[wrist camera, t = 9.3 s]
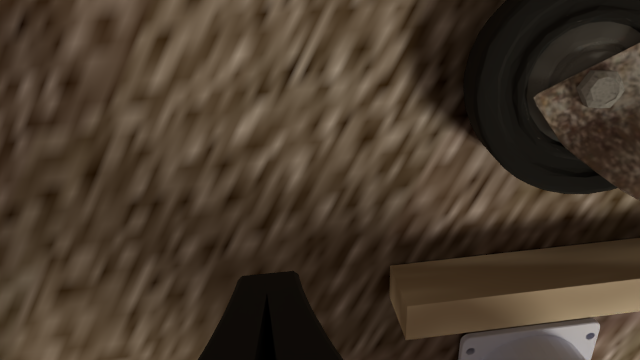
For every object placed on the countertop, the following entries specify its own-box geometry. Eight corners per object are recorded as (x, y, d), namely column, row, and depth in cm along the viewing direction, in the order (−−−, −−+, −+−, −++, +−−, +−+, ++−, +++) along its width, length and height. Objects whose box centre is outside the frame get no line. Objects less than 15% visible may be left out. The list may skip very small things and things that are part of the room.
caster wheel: (424, 38, 20) (658, -94, 18) (523, 238, 23) (740, 149, 20) (443, 45, 14) (810, -159, 11) (576, 320, 17) (902, 206, 14)
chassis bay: (701, 260, 25) (755, 296, 22) (389, 297, 23) (405, 340, 21) (880, -202, 16) (1006, -237, 13) (398, -186, 15) (428, -221, 12)
